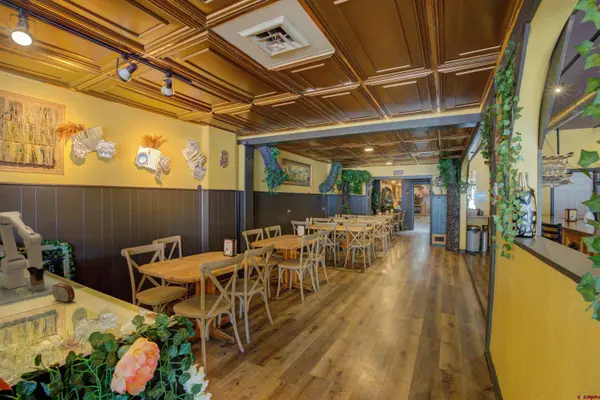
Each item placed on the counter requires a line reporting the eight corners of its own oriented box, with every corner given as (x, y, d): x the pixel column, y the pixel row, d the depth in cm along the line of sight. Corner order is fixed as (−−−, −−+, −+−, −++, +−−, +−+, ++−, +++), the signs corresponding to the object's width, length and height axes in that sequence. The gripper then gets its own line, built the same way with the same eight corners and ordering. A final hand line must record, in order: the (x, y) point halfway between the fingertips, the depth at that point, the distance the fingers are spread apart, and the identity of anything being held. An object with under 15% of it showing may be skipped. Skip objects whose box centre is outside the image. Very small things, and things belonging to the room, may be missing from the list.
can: (39, 275, 185) (37, 257, 184) (28, 279, 178) (26, 260, 178) (30, 276, 185) (28, 258, 185) (19, 279, 179) (17, 260, 178)
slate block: (31, 289, 157) (30, 284, 156) (42, 287, 160) (42, 282, 160) (32, 291, 153) (32, 286, 153) (44, 288, 157) (44, 283, 157)
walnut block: (30, 284, 156) (29, 275, 156) (41, 282, 160) (40, 272, 160) (33, 285, 154) (32, 276, 154) (44, 283, 158) (43, 273, 157)
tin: (76, 301, 134) (74, 284, 134) (68, 304, 131) (66, 286, 131) (59, 297, 141) (57, 281, 140) (51, 300, 138) (50, 283, 137)
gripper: (48, 255, 156) (51, 279, 156) (39, 253, 163) (41, 276, 164) (31, 258, 150) (34, 283, 150) (23, 256, 157) (25, 279, 158)
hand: (37, 279), depth 157 cm, fingers open, 7 cm apart
